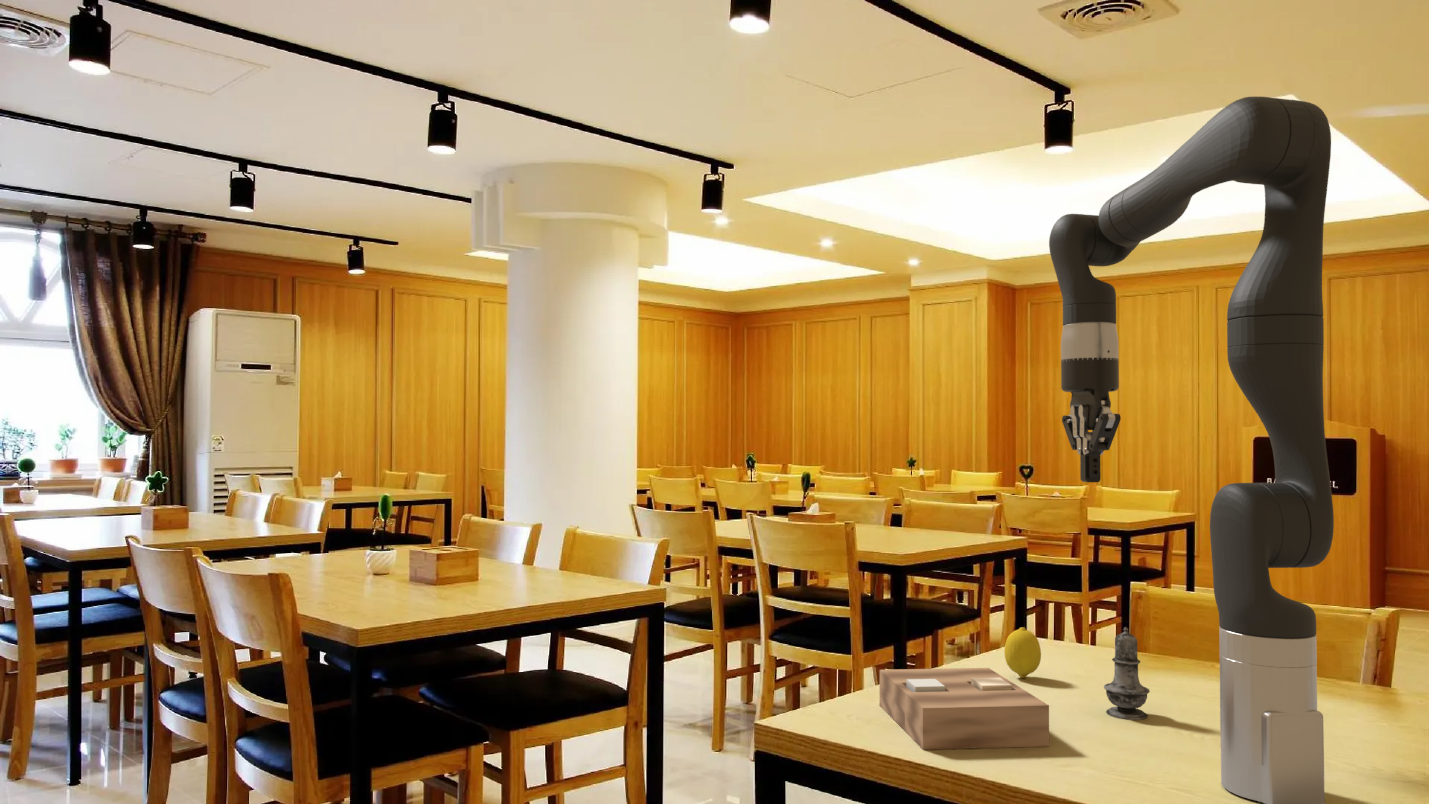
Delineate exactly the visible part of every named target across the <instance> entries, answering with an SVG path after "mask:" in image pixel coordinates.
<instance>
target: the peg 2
mask: <svg viewBox="0 0 1429 804" xmlns="http://www.w3.org/2000/svg"><path fill="white" fill-rule="evenodd" d="M971 685H972V686H974V687H975V688H976V689H978V690H979V691H999V690H1012V685H1011V684H1009V683H1008V682H1006V681H1004V680H1003V679H1001V678H971Z"/></svg>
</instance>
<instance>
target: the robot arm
mask: <svg viewBox="0 0 1429 804" xmlns="http://www.w3.org/2000/svg"><path fill="white" fill-rule="evenodd" d="M1331 132H1332V131H1331V126H1330V123H1329V119H1328V117H1327V114H1326V113H1325V112H1324V110H1323V109H1321V108H1320V106H1318V105H1317V104H1314V103H1312V102H1309V101H1304V100H1297V99H1287V98H1279V97H1270V96H1246V97H1245V96H1244V97H1242V98H1239V99H1236V100H1235V101H1232V102H1231V103H1229V104H1227V105H1226V106H1225V107H1223V108H1222V109H1221V110H1220V111H1218V112H1217V113H1216V114H1215V115H1214V116H1213V117H1212V118H1210V119H1209V120H1208V121H1207V122H1206V123H1205V124H1204V125H1202V127H1200V128H1199V130H1197V131H1196V132H1195V133H1193V135H1192V136H1191V137H1190V138H1189V139H1188V140H1186V141H1185V142H1184V143H1183V144H1182V145H1181V146H1179V148H1178V149H1176V151H1174V152H1173V153H1172V154H1171V155H1170V156H1169V157H1168V158H1167V159H1166V160H1164V162H1162V164H1160V165H1159V166H1158V167H1157V168H1155V169H1154V170H1153V171H1151V172H1150V173H1148V174H1146V175H1145V176H1144V177H1142V178H1141V179H1138V181H1136V182H1135V183H1133V184H1131V185H1128V187H1126V188H1124V189H1122V190H1121V191H1120V192H1119V191H1118V192H1117V193H1116V194H1115V195H1113V196H1111V197H1110V198H1109V199H1108V200H1106V201H1105V203H1104V204H1103V205H1102V206H1101V208H1100V210H1099V213H1098V214H1095V215H1094V214H1083V213H1082V214H1081V213H1068V214H1064V215H1062V216H1061V217H1059V218H1058V219H1057V220H1056V221H1055V223H1053V226H1052V228H1051V232H1050V234H1049V240H1048V246H1049V254H1050V259H1051V262H1052V264H1053V269H1054V272H1055V275H1056V279H1057V282H1058V287H1059V289H1060V292H1061V293H1060V294H1061V298H1062V331H1061V338H1060V339H1061V340H1060V368H1061V369H1060V378H1061V379H1060V381H1061V382H1060V385H1061V387H1060V389H1061V391H1063V392H1065V393H1071V398H1070V402H1069V407H1070V408H1069V409H1070V412H1069V415H1062V417H1061V421H1062V422H1061V423H1062V425H1063V428H1064V431H1065V434H1066V436H1067V439H1068V441H1069V444H1070V447H1071V450H1072V451H1076V453H1077V455H1079V456H1080V459H1079V460H1080V464H1079V465H1080V466H1079V467H1080V471H1079V472H1080V480H1081V482H1084V483H1099V482H1100V481H1101V478H1102V477H1101V456H1103V454H1104V452H1105V451H1109V450H1110V448H1111V447H1112V444H1113V441H1114V438H1115V435H1116V432H1117V430H1118V428H1119V425H1120V422H1121V419H1122V418H1121V414H1120V413H1113V412H1112V410H1111V407H1112V401H1111V399H1110V394H1109V393H1110V392H1111V393H1112V392H1116V391H1118V390H1119V387H1120V378H1119V377H1120V375H1119V373H1120V371H1119V370H1120V369H1119V367H1120V365H1119V363H1120V362H1119V359H1120V358H1119V354H1120V353H1119V345H1120V344H1119V336H1118V329H1117V328H1118V327H1117V293H1116V288H1115V286H1113V285H1112V284H1110V283H1109V282H1105V281H1103V280H1100V279H1097V277H1095V276H1094V275H1093V273H1092V272H1091V268H1090V266H1091V267H1109V266H1113V265H1116V264H1119V263H1121V262H1123V260H1125V259H1126V258H1127V257H1128V256H1129V255H1130V254H1131V253H1132V251H1134V250H1135V249H1136V248H1137V247H1138V246H1139V244H1140V243H1141V242H1143V241H1144V240H1147V239H1149V238H1151V237H1152V236H1154V235H1157V234H1158V233H1160V232H1161V231H1164V230H1165V229H1167V228H1170V226H1172V225H1173V224H1175V222H1177V221H1178V220H1179V219H1180V218H1181V217H1182V216H1183V215H1184V213H1185V212H1186V210H1187V209H1188V207H1189V204H1190V202H1191V200H1192V198H1193V196H1194V195H1196V194H1197V193H1199V192H1201V191H1203V190H1207V189H1209V188H1211V187H1215V186H1217V185H1220V184H1224V183H1227V182H1232V181H1233V182H1236V183H1240V184H1251V185H1259V186H1261V185H1262V186H1264V187H1263V188H1264V200H1265V201H1264V202H1265V203H1264V204H1265V205H1264V220H1263V221H1264V222H1263V227H1262V228H1263V230H1262V234H1261V237H1260V239H1259V243H1258V245H1257V247H1256V250H1255V251H1254V252H1253V254H1252V256H1251V258H1250V260H1249V261H1248V263H1247V264H1246V267H1245V268H1244V270H1243V271H1242V273H1241V275H1240V277H1239V278H1238V280H1237V282H1236V284H1235V286H1234V289H1233V290H1232V293H1231V294H1230V295H1231V296H1230V297H1229V301H1228V303H1227V304H1228V305H1227V314H1226V321H1227V322H1226V331H1227V332H1226V343H1227V346H1226V347H1227V349H1226V351H1227V354H1226V355H1227V362H1228V367H1229V370H1230V371H1231V375H1232V377H1233V378H1234V380H1235V382H1236V384H1237V386H1239V388H1240V390H1241V392H1242V394H1243V395H1244V396H1245V398H1246V400H1247V401H1248V403H1249V404H1250V405H1251V407H1252V408H1253V410H1254V411H1255V413H1256V415H1257V416H1258V418H1259V419H1260V422H1261V423H1262V424H1263V426H1264V428H1265V430H1266V433H1267V436H1268V438H1269V440H1270V445H1271V449H1272V454H1273V464H1274V482H1233V483H1228V484H1226V485H1224V486H1222V487H1220V489H1219V490H1218V491H1217V493H1215V494H1216V495H1215V496H1214V497H1213V501H1212V502H1211V503H1212V504H1211V508H1210V516H1209V536H1210V537H1209V538H1210V540H1209V541H1210V550H1211V551H1210V552H1211V562H1212V578H1213V579H1212V583H1213V595H1214V599H1215V604H1216V606H1217V607H1216V608H1217V611H1218V622H1219V623H1218V624H1219V629H1218V630H1219V632H1218V633H1219V638H1218V639H1219V709H1220V710H1219V714H1220V715H1219V719H1220V721H1219V725H1220V727H1219V728H1220V729H1219V730H1220V735H1219V736H1220V740H1219V741H1220V777H1221V778H1220V784H1221V786H1222V787H1223V788H1224V789H1225V790H1227V791H1229V792H1230V793H1233V794H1234V795H1237V796H1239V797H1242V798H1246V799H1249V800H1252V801H1257V802H1260V803H1263V804H1325V803H1326V802H1325V749H1324V747H1325V744H1324V743H1325V741H1324V740H1325V739H1324V738H1325V735H1324V734H1325V733H1324V728H1325V727H1324V715H1323V713H1322V712H1321V711H1320V710H1318V679H1317V678H1318V677H1317V676H1318V673H1317V671H1318V669H1317V667H1318V666H1317V662H1318V659H1317V658H1318V655H1317V653H1318V651H1317V616H1316V613H1315V611H1314V609H1313V608H1312V607H1311V606H1310V605H1307V604H1305V603H1303V602H1300V601H1296V600H1294V599H1291V598H1288V597H1286V596H1284V595H1282V594H1280V593H1279V592H1278V591H1277V590H1276V589H1274V587H1273V586H1272V582H1271V578H1270V577H1271V576H1270V571H1269V569H1271V568H1272V569H1275V568H1276V569H1283V568H1284V569H1285V568H1287V569H1288V568H1289V569H1290V568H1291V569H1292V568H1293V569H1296V568H1297V569H1298V568H1313V567H1315V566H1318V565H1320V564H1321V563H1322V562H1323V561H1324V560H1325V559H1326V558H1327V557H1328V554H1329V553H1330V550H1331V547H1332V543H1333V539H1334V532H1335V531H1334V526H1335V524H1334V521H1335V518H1334V517H1335V516H1334V506H1333V505H1334V503H1333V493H1332V487H1331V479H1330V478H1331V477H1330V469H1329V461H1328V452H1327V444H1326V433H1325V413H1324V383H1323V382H1324V378H1323V377H1324V374H1323V373H1324V351H1325V350H1324V347H1325V346H1324V343H1325V342H1324V340H1325V339H1324V337H1325V336H1324V326H1325V325H1324V323H1325V322H1324V304H1323V302H1324V301H1323V299H1324V298H1323V261H1324V260H1323V259H1324V258H1323V255H1324V254H1323V252H1324V250H1323V249H1324V223H1325V214H1326V213H1325V212H1326V202H1327V194H1328V193H1327V192H1328V186H1329V185H1328V184H1329V175H1330V166H1331V165H1330V164H1331V157H1332V156H1331V154H1332V151H1331V150H1332V134H1331Z"/></svg>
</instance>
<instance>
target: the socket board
mask: <svg viewBox="0 0 1429 804" xmlns="http://www.w3.org/2000/svg"><path fill="white" fill-rule="evenodd" d="M971 678H1001V679H1003V680H1004V681H1006V682H1008V683H1009V684H1011V685H1012V690H999V691H979V690H978V689H976V688H975V687H974V686H972V685H971ZM906 679H936V680H937V681H939V682H940V683H941V684H943V685H944V686H945V692H912V691H911V690H910V689H908V688H907V687H906ZM879 706H880V707H881V708H882V710H883V711H885V713H886V714H887V715H889V716H890V717H891V718H892V720H894V721H895V723H896V724H897V725H899V727H900V728H901V729H902V730H903V731H904V732H905V733H906V734H907V735H908V736H909V737H910V738H911V739H912V740H913V741H914V742H915V743H916V745H918V746H919V747H920V748H921V749H922V750H923V749H924V750H956V749H959V750H960V749H992V748H993V749H997V748H998V749H999V748H1001V749H1002V748H1033V747H1035V748H1039V747H1044V748H1045V747H1050V705H1049V704H1047V703H1046V702H1045V701H1043V700H1041V699H1040V698H1039V697H1036V696H1034V695H1033V694H1031V693H1029V692H1028V691H1027V690H1025V689H1023V688H1022V687H1021V686H1019V685H1017V684H1015V683H1013V681H1010V680H1008V678H1006V677H1004V676H1003V675H1001V674H999V672H996V671H994V670H993V669H991V668H990V667H967V668H964V667H959V668H955V667H953V668H952V667H951V668H911V669H910V668H908V669H906V668H905V669H904V668H903V669H902V668H900V669H894V668H893V669H879Z"/></svg>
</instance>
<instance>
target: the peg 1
mask: <svg viewBox="0 0 1429 804" xmlns="http://www.w3.org/2000/svg"><path fill="white" fill-rule="evenodd" d="M906 687H907V688H908V689H910V690H911V691H912V692H945V686H944V685H943V684H941V683H940V682H939V681H937V680H936V679H906Z"/></svg>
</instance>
